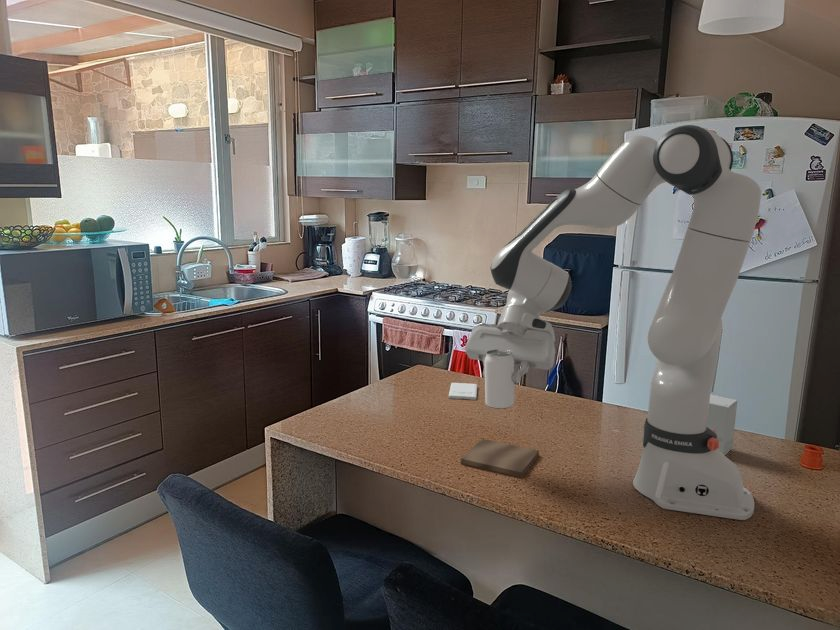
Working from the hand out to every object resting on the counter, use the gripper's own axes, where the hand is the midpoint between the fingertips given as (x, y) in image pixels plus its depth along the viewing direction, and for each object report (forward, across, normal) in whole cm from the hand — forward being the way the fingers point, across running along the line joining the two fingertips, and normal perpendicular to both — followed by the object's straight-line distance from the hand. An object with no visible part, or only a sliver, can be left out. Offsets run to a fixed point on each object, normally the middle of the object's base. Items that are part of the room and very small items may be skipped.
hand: (500, 378), depth 133 cm
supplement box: (-8, +43, +36) cm, 57 cm away
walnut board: (+13, 0, +14) cm, 19 cm away
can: (+4, 0, +5) cm, 6 cm away
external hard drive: (-15, -26, +43) cm, 53 cm away
